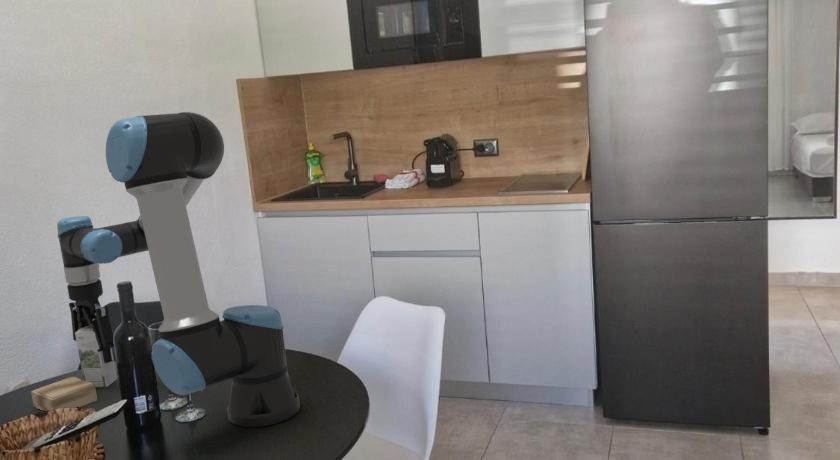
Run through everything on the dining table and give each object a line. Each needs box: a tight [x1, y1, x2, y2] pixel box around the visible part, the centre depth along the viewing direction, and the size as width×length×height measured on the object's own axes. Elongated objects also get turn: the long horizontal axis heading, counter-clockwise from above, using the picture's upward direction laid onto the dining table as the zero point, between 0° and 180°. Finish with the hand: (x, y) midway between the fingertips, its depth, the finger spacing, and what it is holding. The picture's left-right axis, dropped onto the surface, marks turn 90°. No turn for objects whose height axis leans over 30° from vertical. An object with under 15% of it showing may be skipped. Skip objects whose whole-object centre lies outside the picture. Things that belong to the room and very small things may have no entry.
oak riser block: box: [30, 376, 98, 411], centre depth 177 cm, size 10×10×4 cm
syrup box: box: [75, 325, 118, 389], centre depth 187 cm, size 6×6×14 cm
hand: (99, 371), depth 187 cm, fingers closed on syrup box, 8 cm apart
